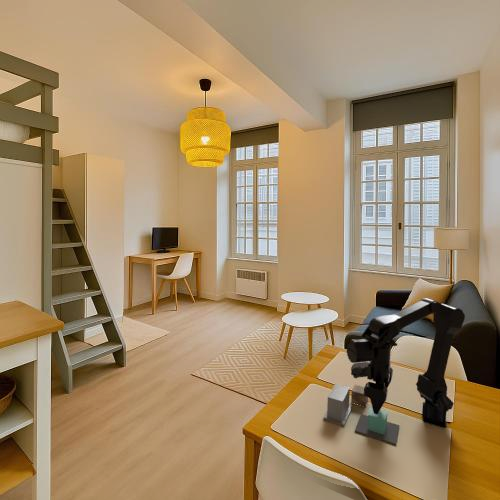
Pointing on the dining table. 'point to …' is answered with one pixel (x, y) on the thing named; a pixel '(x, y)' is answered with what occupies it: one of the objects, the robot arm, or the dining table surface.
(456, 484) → the dining table surface
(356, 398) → the walnut block
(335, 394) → the grey upright box
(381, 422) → the teal block
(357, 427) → the dark grey mat
